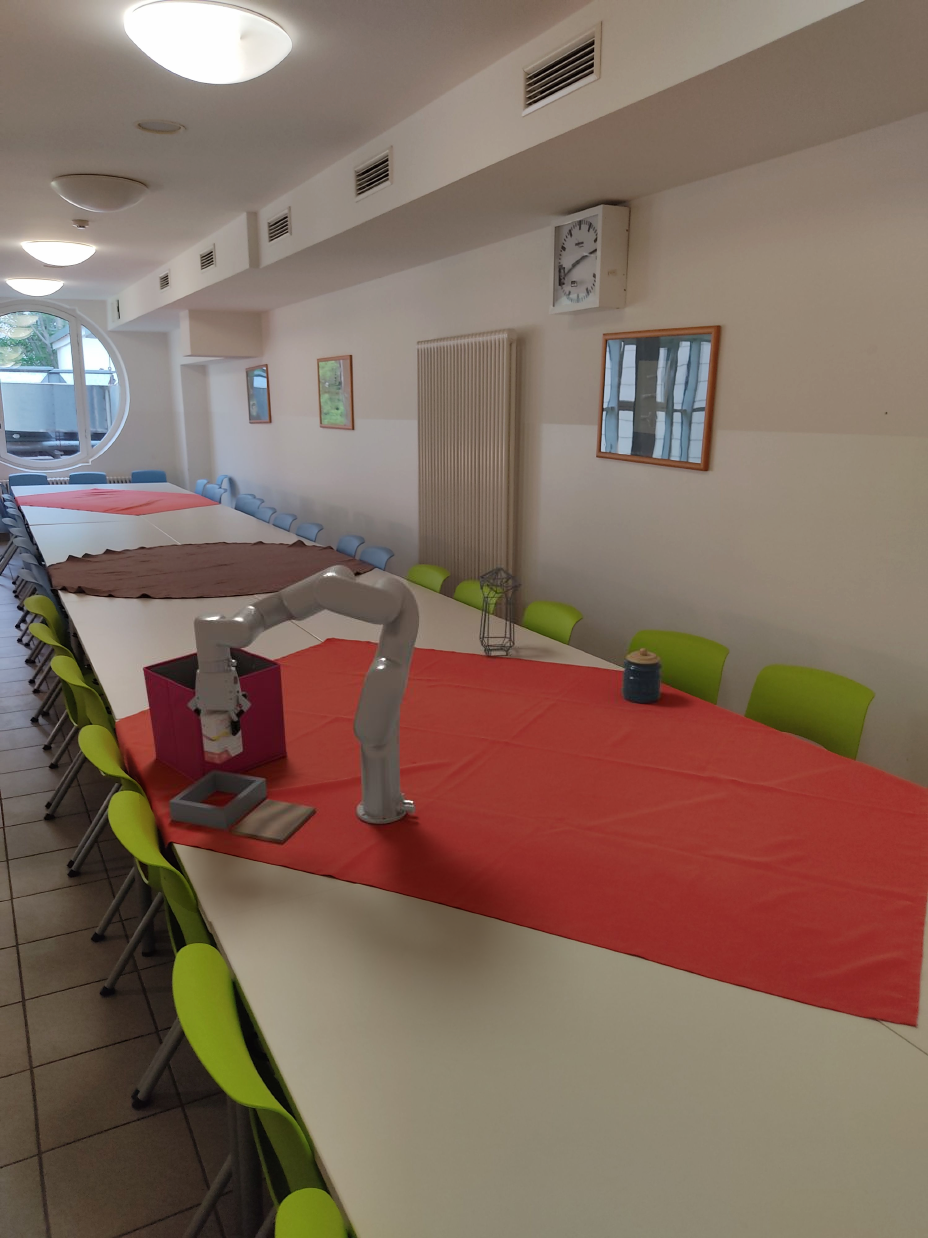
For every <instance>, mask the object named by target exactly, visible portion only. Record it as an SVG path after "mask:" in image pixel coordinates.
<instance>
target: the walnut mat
mask: <svg viewBox="0 0 928 1238" xmlns="http://www.w3.org/2000/svg"><path fill="white" fill-rule="evenodd" d="M315 812H316V807H315V806H307V805H302V804H298V803H297V804H296V803H292V802H291V803H290V802H287V801H286V802H285V801H279V800H274V799H267V798H266V799H265V800H264V801H262V803H260V805H258V806H257V807H256V808H254V809H253V810H252V811H251V812H250V813H249V814H248V815H247V816H246V817H244V818H243V819H242V820H241V821H240V822H238V823H237V824H236V825H235V826H233V828H232V829H230V833H231V835H236V836H241V837H247V838H252V839H258V840H261V841H268V842H271V843H272V842H273V843H278V844H281V845H283V844H285V842H286V841H287V840H288V839H289V838H291V836H292V835H293V834H294V833H295V832H296V831H298V829H299V828H300V827H301V826H302V825H304V823H305V822H307V820H308V819H310V817H312V815H313V814H315Z"/></svg>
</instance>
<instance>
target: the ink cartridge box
mask: <svg viewBox="0 0 928 1238" xmlns="http://www.w3.org/2000/svg"><path fill="white" fill-rule="evenodd" d="M238 709H239V708H238ZM232 720H233V719H232V717H231V715H230V713H229V712H228V711H220V710H207V712H206V710H205V709H204V704H202V705H201V724H202V733H203V743H204V752H205V760H206V761H210V762H214V763H218V764H220V763H222V762H224V761H226V760H227V759H229V758H231V757H233V756H235V755H236V754H238V753H240V752H242V751H243V748H242V737H241V730H240V731H239V733H238V734H237V735H236V736H233V735H232V728H231V721H232Z"/></svg>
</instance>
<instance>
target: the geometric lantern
mask: <svg viewBox="0 0 928 1238" xmlns="http://www.w3.org/2000/svg"><path fill="white" fill-rule="evenodd" d="M502 573H504V575H505V576H506V577H503V575H502ZM476 579H478V581H479V589H480V590H481V592H482V596H483V597H482V606H481V607H482V608H481V617H480V618H481V619H480V627H479V638H478V639H479V643H480V646H482V647H483V649H484V652H485V655H486V656H487V657H503V656H505V657H506V656H507V657H508V655H509V650H510V649H512V648H513V647H514V646H515V641H516V640H515V602H514V598H515V594H516V593H515V592H518V589H519V588H520V587H521V586H522V584H521V583H520V582H519V581H518V580H517V578H516V577H515V576H514V575H512V574H511V573H509V571H507V570H505V568H504V567H501V566H497V567H495V568H493V569H491V570H489V571H487V572H486V573H483V574H482V575H480V576H477V577H476ZM504 579H506V580H505V581H504ZM492 580H493V582H491V581H492ZM498 580H500V584H498ZM510 580H511V581H512V582H513V584H510V585H505V584H506V583H508V582H509V581H510ZM484 587H488V588H489V591H488V593H487V595H486V596H485V593H484ZM494 588H495V589H494ZM498 588H501V590H502V591H499V592H498ZM505 588H508V589H507V590H505ZM511 590H512V593H511V595H510V597H509V596H508V595H507V592H509V591H511ZM491 591H493V592H494V594H493V596H490V594H491ZM498 594H499V595H501V594H503V595H504V596H496V595H498ZM493 598H495V599H498V598H500V599H501V598H502V599H503V598H505V599H506V603H505V607H506V609H505V625H504V627H505V628H504V636H490V605H500V603H499V602H498V603H493V602H492V603H491V601H492V599H493ZM508 621H509V622H508ZM486 623H487V624H486ZM486 625H487V633H486ZM507 625H509V628H508V630H509V632H508V633H509V635H508V636H509V637H508V636H507V627H508V626H507ZM485 633H486V634H487V635H486V636H485ZM485 639H487V640H485ZM490 639H503V641H502V643H499V644H497V643H495V644H490V643H489V640H490ZM506 639H507V640H508V641H507V642H505V640H506ZM504 642H505V643H504ZM508 643H509V645H507V644H508ZM492 652H504V653H505V654H498V655H497V654H496V655H492Z"/></svg>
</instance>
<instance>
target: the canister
mask: <svg viewBox="0 0 928 1238" xmlns="http://www.w3.org/2000/svg"><path fill="white" fill-rule="evenodd" d="M625 658H626V659H625V660H624V661H623V662H622V665H623V667H624V669H623V670H622V687H621V695H622V697H623V699H625V700H627V701H628V702H631V703H638V704H651V703H652V704H653V703H655V702H658V701H659V700H660V697H661V694H662V693H661V686H662V685H661V684H662V677H663V675H662V673H661V670H662V668H663V665H662V663H661V658H660V656H658V655H657V654H656V653H654V652H651V651H648V649H647V648H645V647H641V648H640V649H639V650H635V651H632V652H631V653H629V654H626V656H625Z"/></svg>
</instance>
